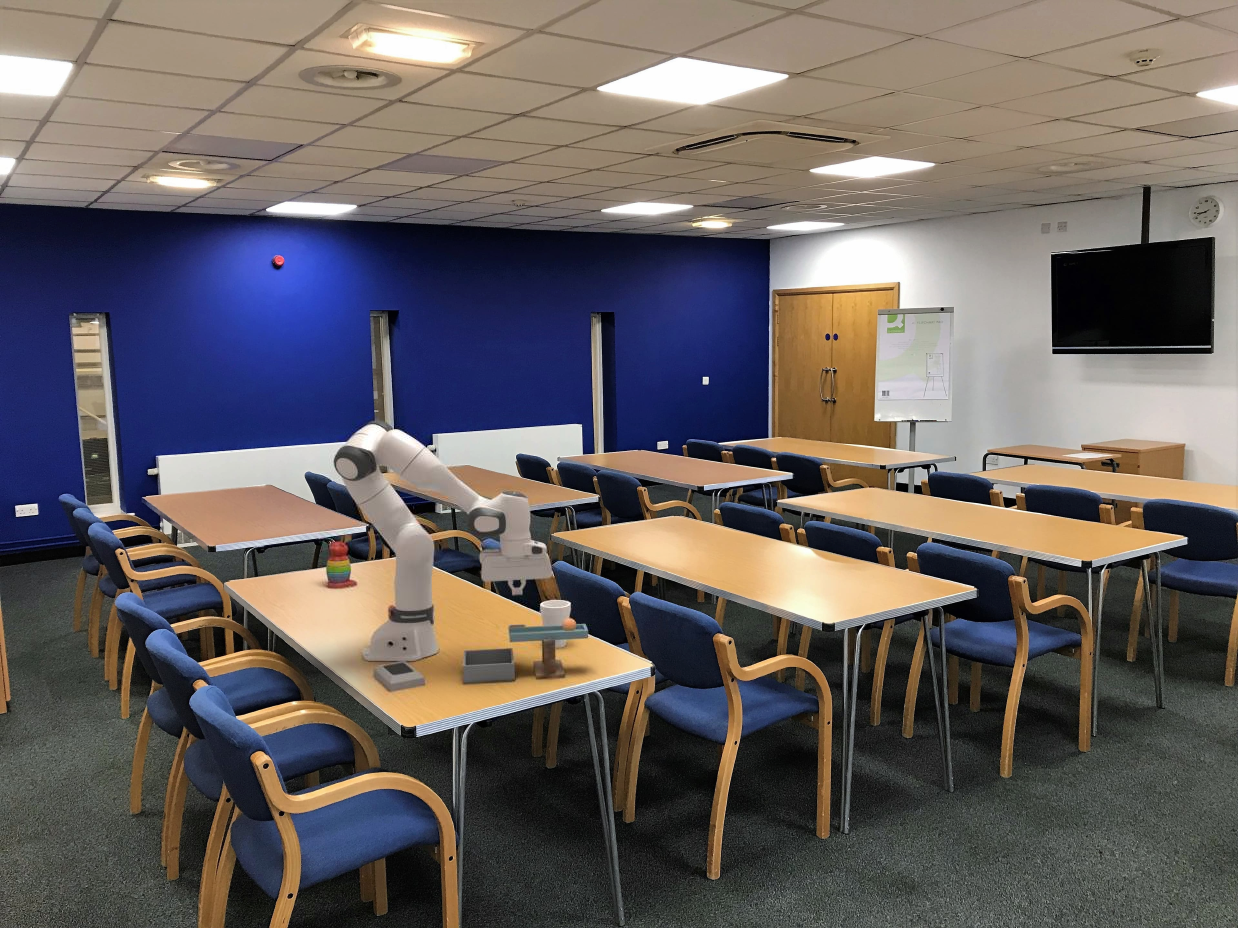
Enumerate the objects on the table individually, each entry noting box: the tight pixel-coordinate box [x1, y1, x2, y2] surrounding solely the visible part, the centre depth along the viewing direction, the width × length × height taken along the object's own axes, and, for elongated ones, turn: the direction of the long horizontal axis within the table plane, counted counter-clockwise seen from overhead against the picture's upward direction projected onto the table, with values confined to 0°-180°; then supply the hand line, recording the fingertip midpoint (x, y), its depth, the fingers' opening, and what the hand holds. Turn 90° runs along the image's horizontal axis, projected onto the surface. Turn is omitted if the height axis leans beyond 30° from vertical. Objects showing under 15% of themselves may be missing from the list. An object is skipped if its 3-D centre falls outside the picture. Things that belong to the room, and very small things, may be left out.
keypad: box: [373, 661, 426, 693], centre depth 258 cm, size 10×4×15 cm
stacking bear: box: [325, 541, 358, 589], centre depth 366 cm, size 11×10×18 cm
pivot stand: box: [533, 638, 566, 680], centre depth 265 cm, size 8×13×11 cm, turn 9°
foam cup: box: [539, 599, 572, 649], centre depth 289 cm, size 10×9×13 cm
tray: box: [462, 647, 516, 685], centre depth 263 cm, size 14×14×5 cm
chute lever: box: [507, 623, 589, 643], centre depth 267 cm, size 22×13×2 cm, turn 99°
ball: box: [562, 617, 577, 631], centre depth 265 cm, size 4×4×4 cm
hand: (517, 594), depth 268 cm, fingers closed
